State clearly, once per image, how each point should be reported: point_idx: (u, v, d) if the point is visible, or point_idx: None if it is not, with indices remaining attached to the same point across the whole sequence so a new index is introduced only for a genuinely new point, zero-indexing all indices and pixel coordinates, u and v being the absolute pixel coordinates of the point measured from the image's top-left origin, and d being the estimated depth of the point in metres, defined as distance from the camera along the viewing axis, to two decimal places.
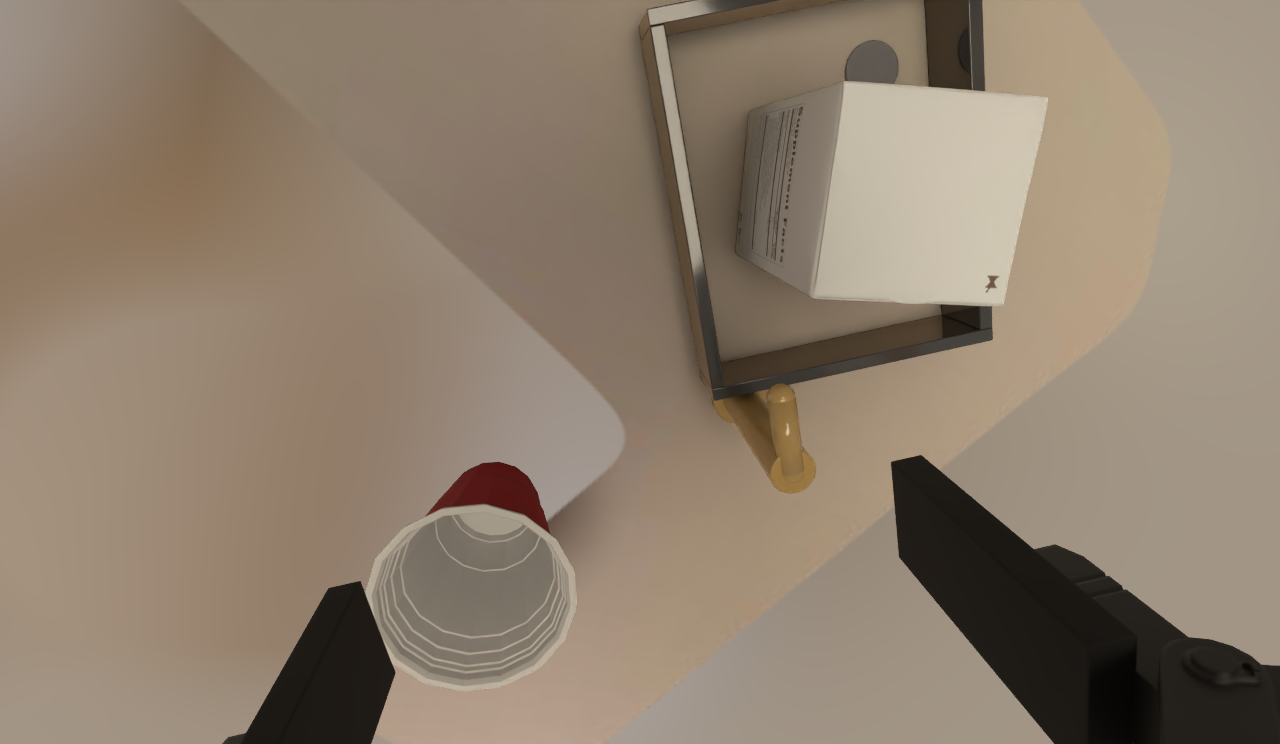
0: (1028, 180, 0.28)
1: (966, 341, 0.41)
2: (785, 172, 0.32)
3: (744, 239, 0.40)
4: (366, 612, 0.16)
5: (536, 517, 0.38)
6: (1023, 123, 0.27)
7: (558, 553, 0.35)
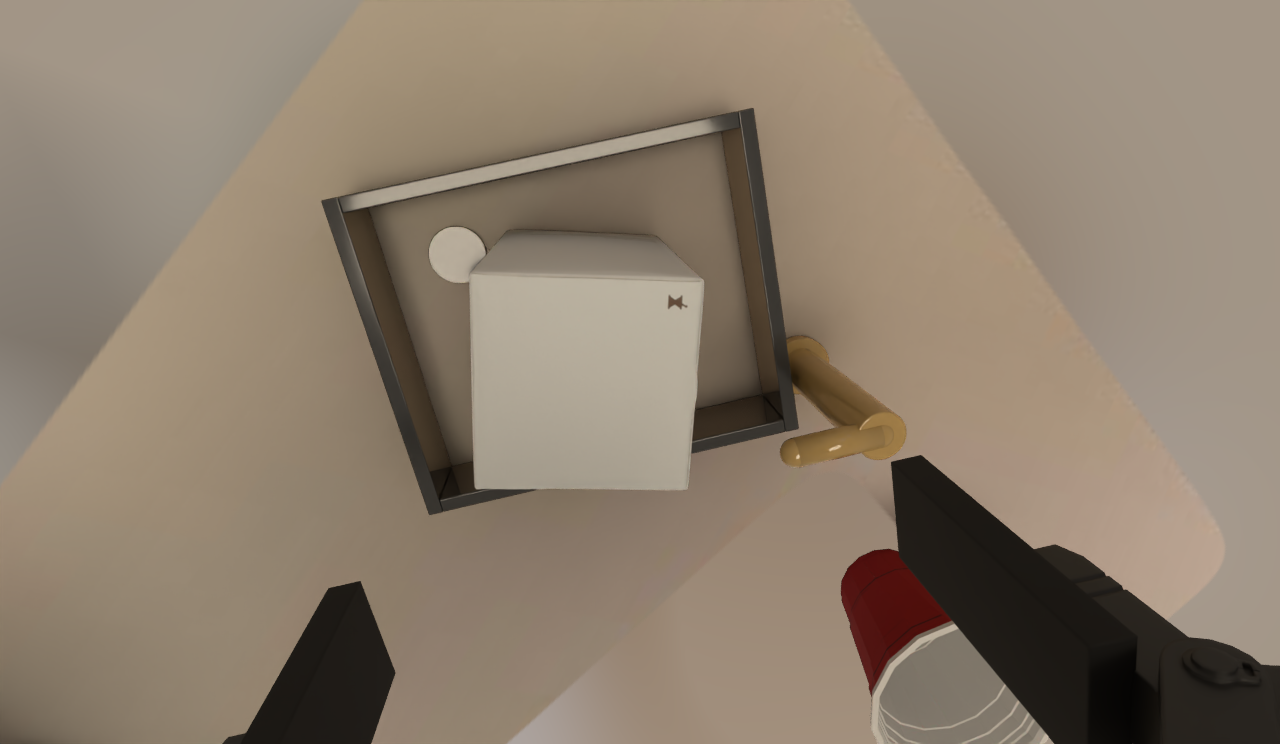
0: (560, 280, 0.24)
1: (753, 144, 0.34)
2: None
3: None
4: (366, 612, 0.16)
5: (897, 613, 0.40)
6: (499, 300, 0.24)
7: (933, 637, 0.36)
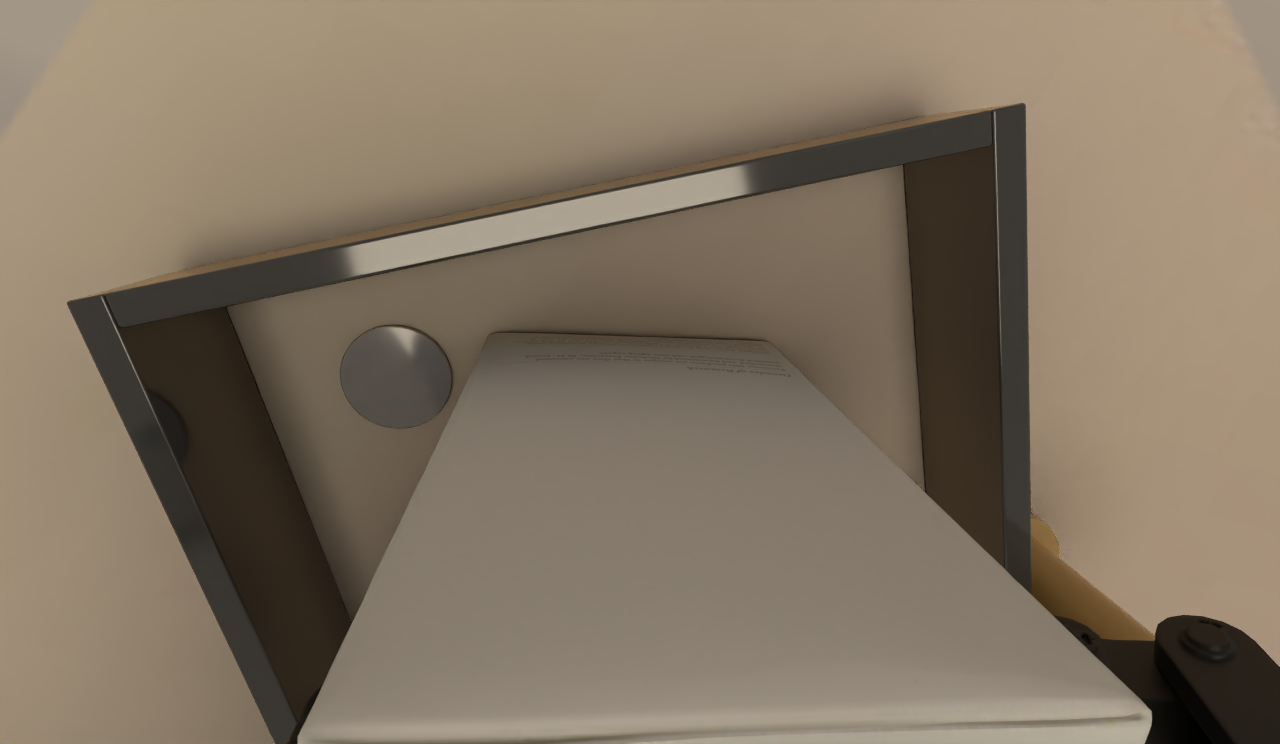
0: None
1: (1015, 181, 0.16)
2: None
3: None
4: None
5: None
6: None
7: None
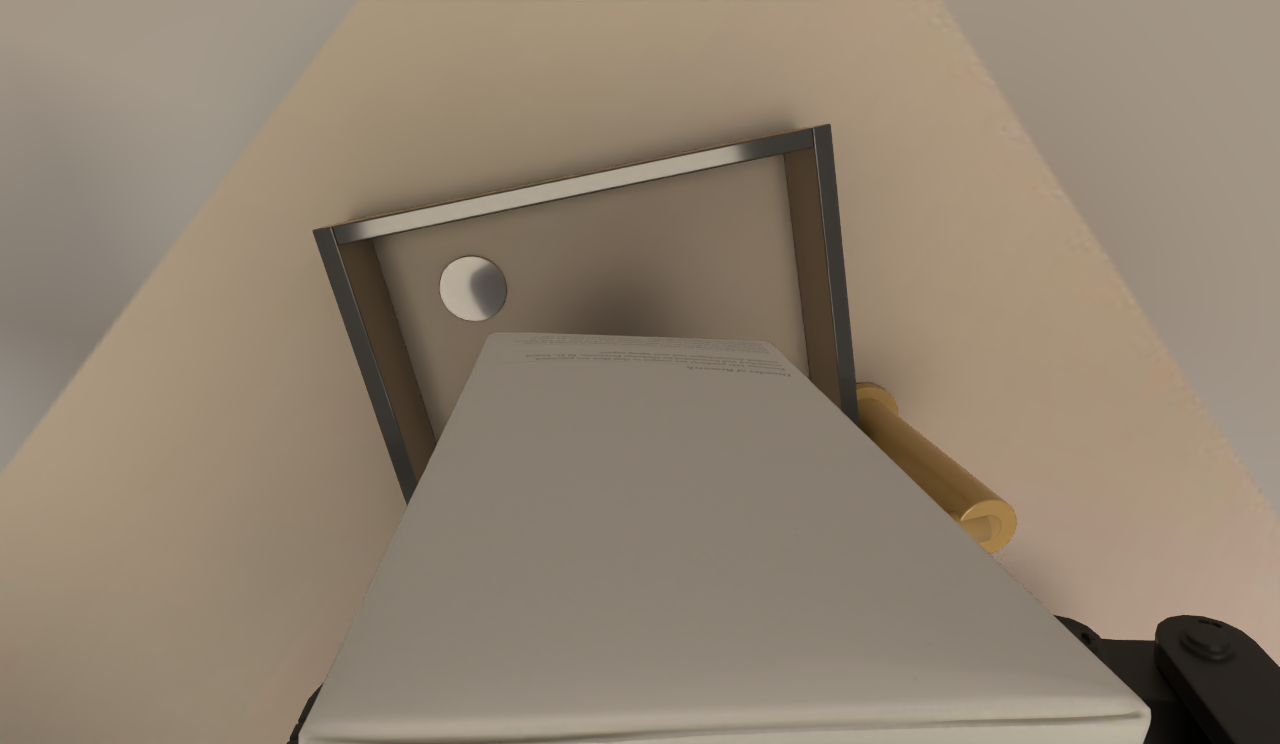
0: None
1: (828, 167, 0.28)
2: None
3: None
4: None
5: None
6: None
7: None
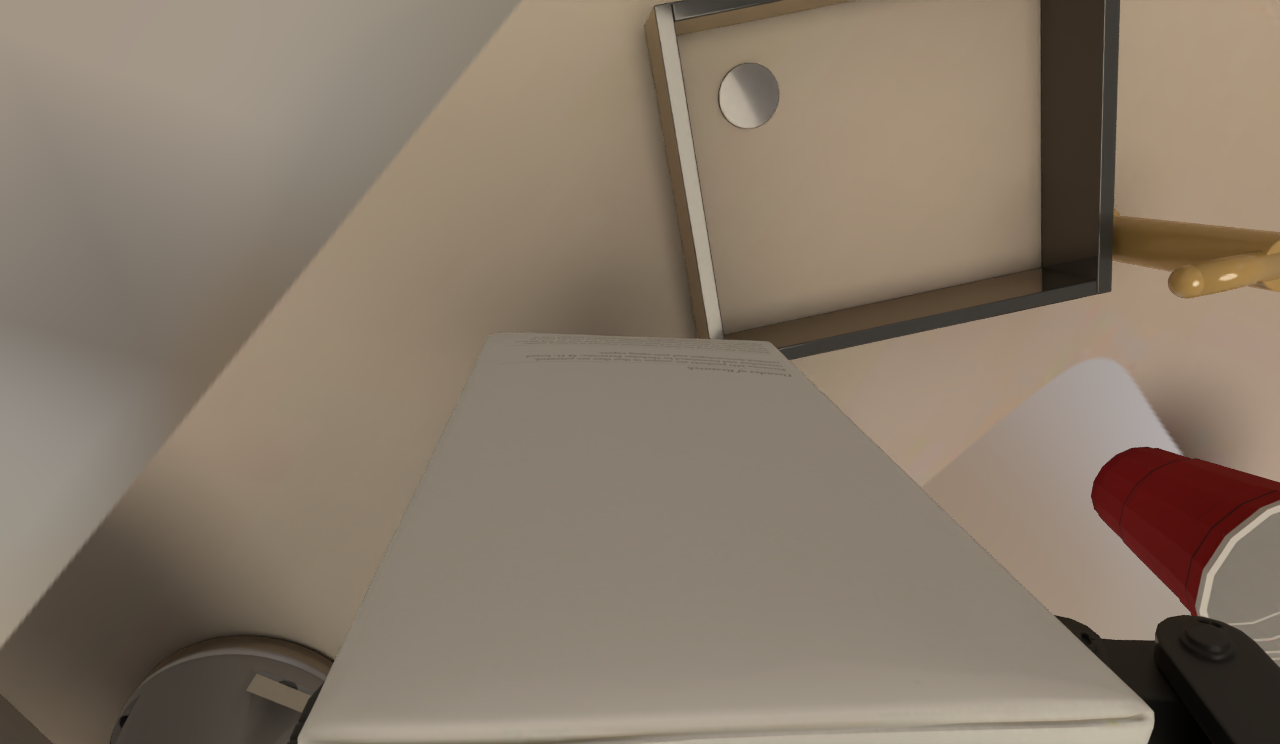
0: None
1: None
2: None
3: None
4: None
5: (1207, 496, 0.37)
6: None
7: None
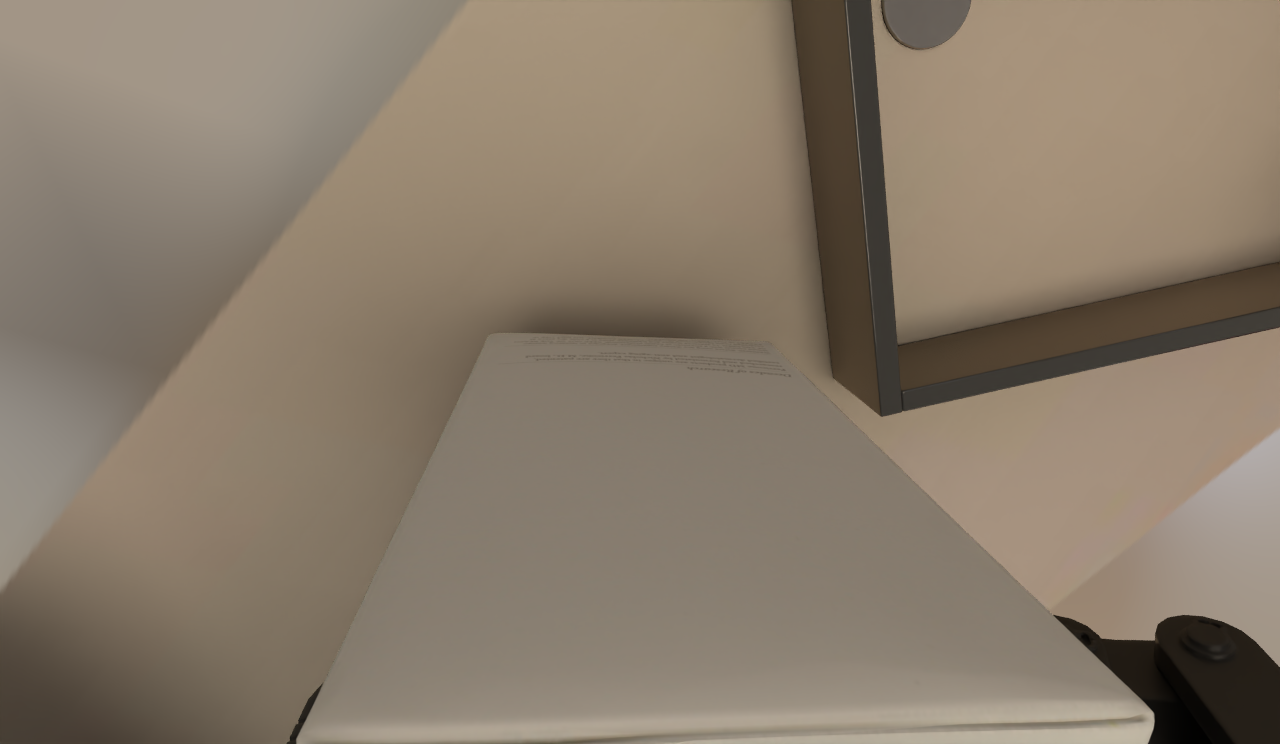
0: None
1: None
2: None
3: None
4: None
5: None
6: None
7: None
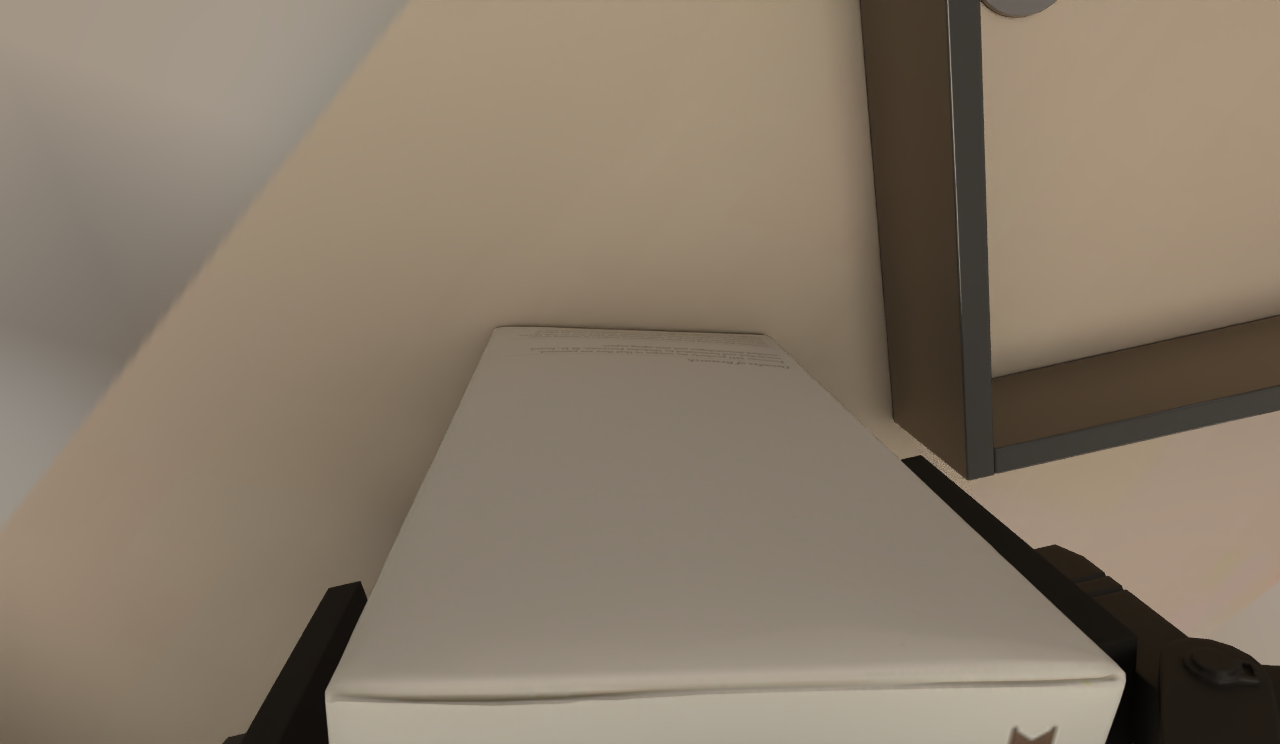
0: (653, 708, 0.07)
1: None
2: None
3: None
4: None
5: None
6: None
7: None
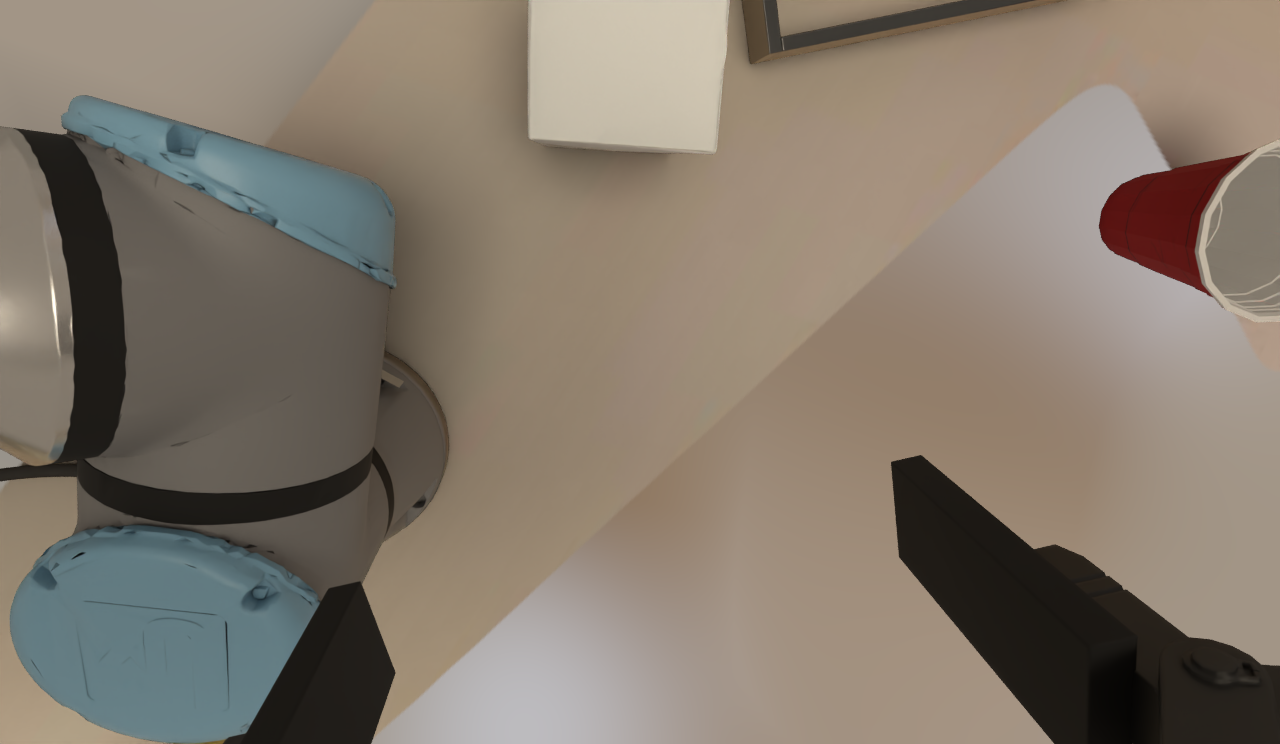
0: None
1: None
2: (601, 149, 0.36)
3: None
4: (366, 612, 0.16)
5: (1204, 171, 0.41)
6: None
7: (1272, 147, 0.37)
